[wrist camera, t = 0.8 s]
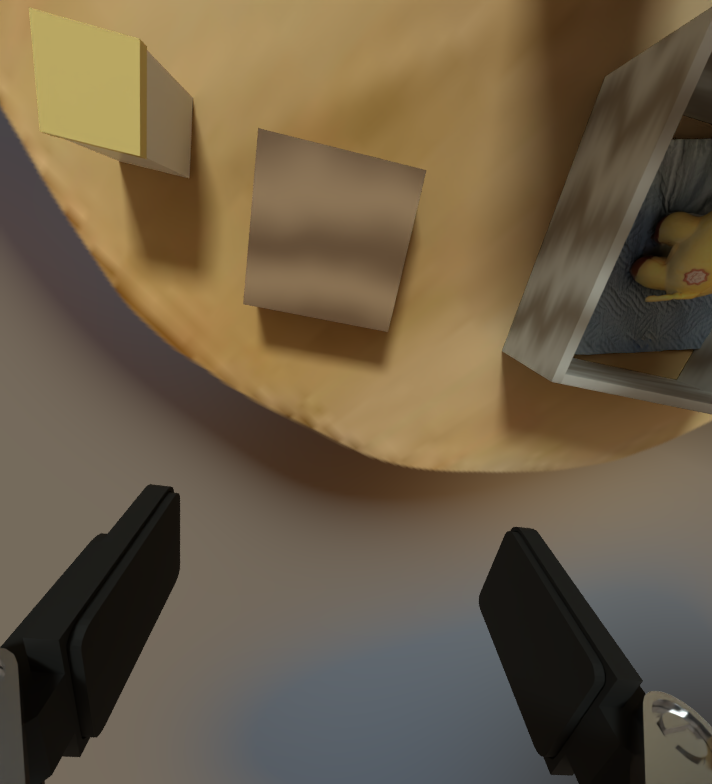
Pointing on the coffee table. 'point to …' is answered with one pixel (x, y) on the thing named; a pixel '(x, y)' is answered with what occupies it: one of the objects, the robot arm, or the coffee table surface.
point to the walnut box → (328, 231)
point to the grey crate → (615, 219)
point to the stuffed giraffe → (662, 264)
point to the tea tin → (109, 95)
